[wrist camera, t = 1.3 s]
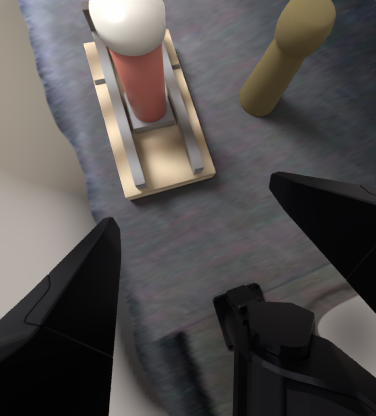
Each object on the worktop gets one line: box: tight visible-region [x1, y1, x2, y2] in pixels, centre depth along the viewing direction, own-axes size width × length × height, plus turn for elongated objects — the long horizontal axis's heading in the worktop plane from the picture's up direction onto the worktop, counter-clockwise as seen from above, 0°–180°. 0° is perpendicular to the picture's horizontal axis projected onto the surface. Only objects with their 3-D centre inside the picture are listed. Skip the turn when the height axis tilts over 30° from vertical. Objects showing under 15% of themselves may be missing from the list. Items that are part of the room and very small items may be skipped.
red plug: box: [89, 0, 174, 133], centre depth 16 cm, size 5×5×10 cm
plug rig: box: [81, 2, 216, 200], centre depth 21 cm, size 22×12×6 cm, turn 17°
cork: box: [239, 0, 336, 116], centre depth 20 cm, size 6×6×11 cm
